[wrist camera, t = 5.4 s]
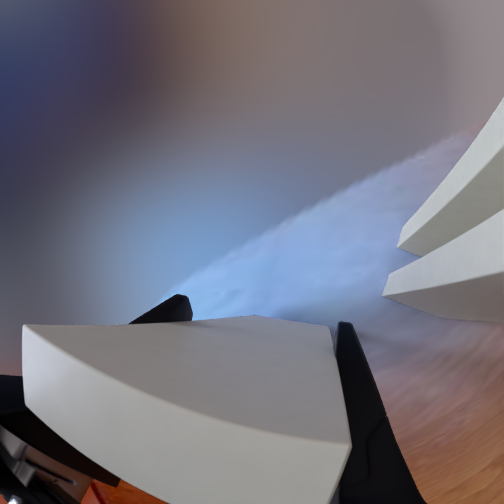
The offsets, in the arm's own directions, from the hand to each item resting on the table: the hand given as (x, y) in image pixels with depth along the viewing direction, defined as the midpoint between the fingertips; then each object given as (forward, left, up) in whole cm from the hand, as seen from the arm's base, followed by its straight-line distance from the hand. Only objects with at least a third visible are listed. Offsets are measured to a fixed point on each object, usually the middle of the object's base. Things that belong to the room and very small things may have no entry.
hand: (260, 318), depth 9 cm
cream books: (+7, -7, -10) cm, 14 cm away
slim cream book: (-1, -1, -10) cm, 10 cm away
